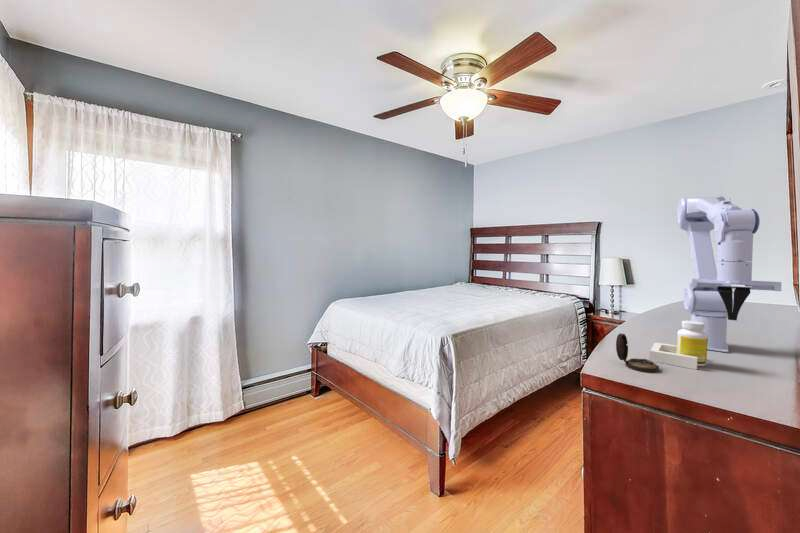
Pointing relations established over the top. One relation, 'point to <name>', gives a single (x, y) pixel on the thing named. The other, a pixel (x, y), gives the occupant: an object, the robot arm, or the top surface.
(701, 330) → the supplement bottle
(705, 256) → the robot arm
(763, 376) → the top surface
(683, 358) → the can dock
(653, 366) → the compass
